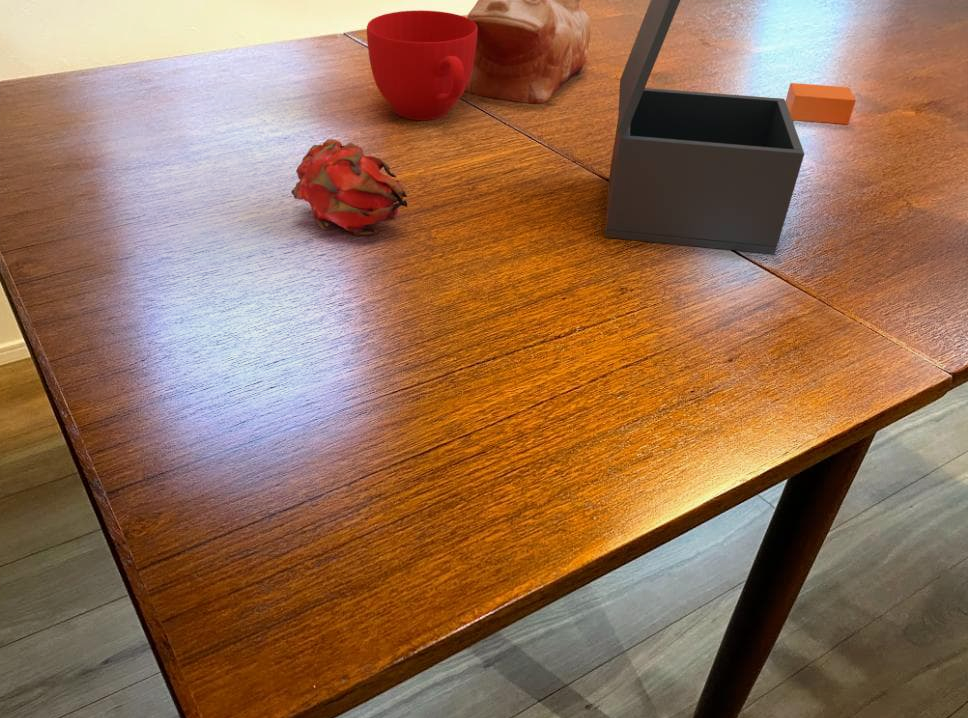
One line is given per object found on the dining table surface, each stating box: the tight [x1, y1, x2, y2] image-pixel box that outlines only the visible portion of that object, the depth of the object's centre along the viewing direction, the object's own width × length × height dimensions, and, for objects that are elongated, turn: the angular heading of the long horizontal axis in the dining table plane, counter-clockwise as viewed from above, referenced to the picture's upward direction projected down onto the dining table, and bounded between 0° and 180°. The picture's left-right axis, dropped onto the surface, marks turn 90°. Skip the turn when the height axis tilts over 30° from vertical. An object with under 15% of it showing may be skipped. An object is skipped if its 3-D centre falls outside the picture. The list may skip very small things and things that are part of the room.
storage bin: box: [605, 87, 805, 255], centre depth 85 cm, size 16×14×10 cm
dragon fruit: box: [290, 138, 409, 236], centre depth 83 cm, size 8×8×12 cm
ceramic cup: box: [366, 9, 478, 121], centre depth 104 cm, size 13×17×10 cm
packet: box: [785, 82, 857, 125], centre depth 109 cm, size 7×5×3 cm, turn 79°
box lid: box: [617, 0, 681, 134], centre depth 77 cm, size 16×14×6 cm
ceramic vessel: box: [464, 0, 592, 105], centre depth 114 cm, size 14×26×15 cm, turn 155°
